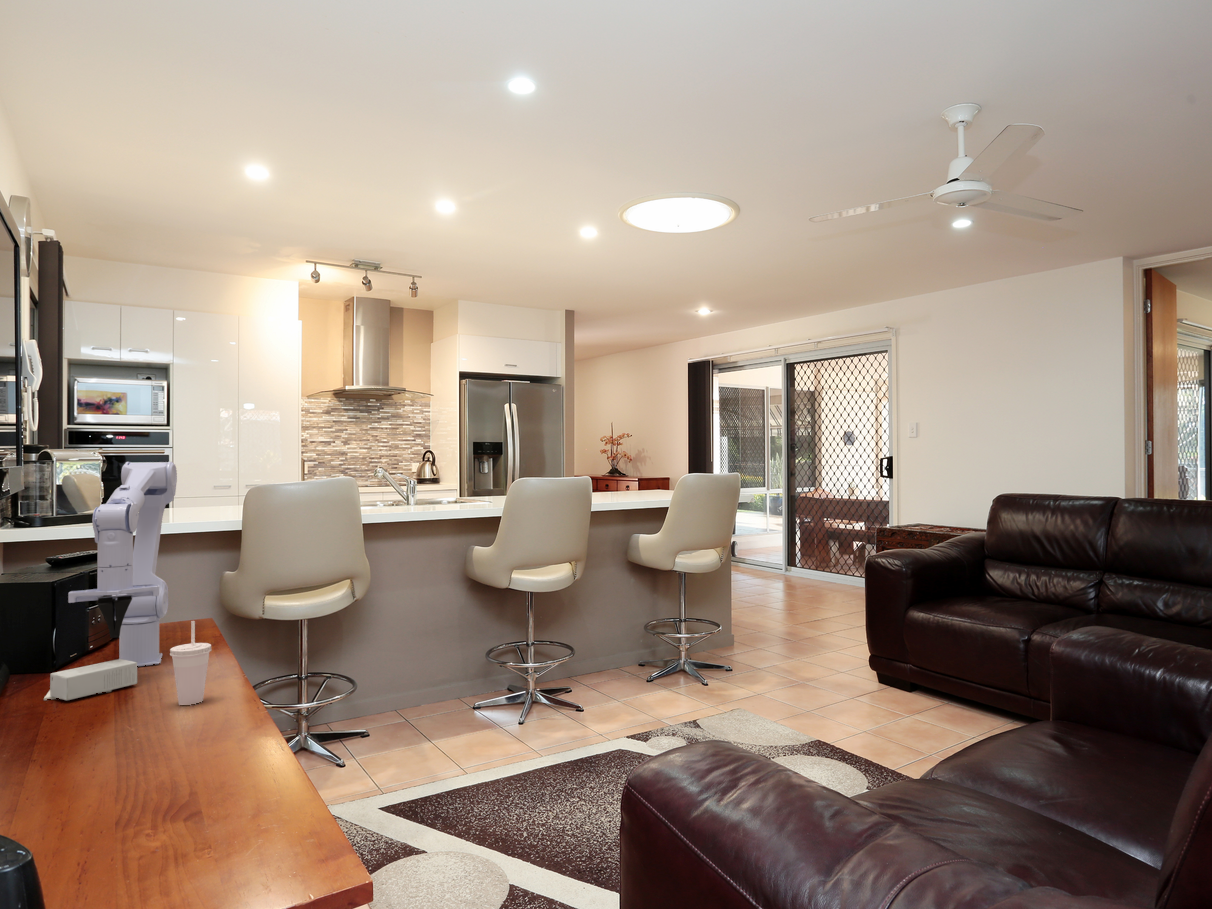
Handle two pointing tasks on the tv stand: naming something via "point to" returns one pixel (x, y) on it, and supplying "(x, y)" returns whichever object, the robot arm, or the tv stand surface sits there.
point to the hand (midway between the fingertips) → (115, 636)
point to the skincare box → (93, 679)
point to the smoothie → (190, 669)
